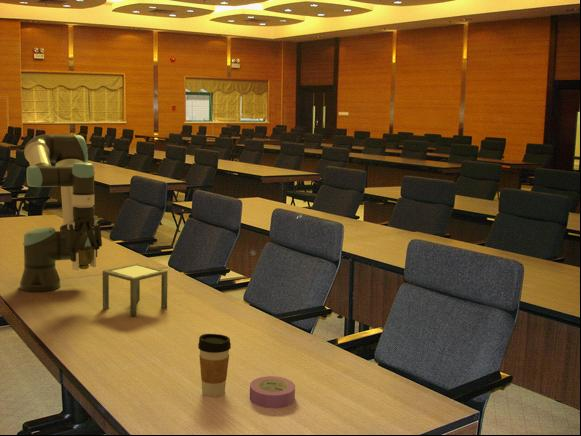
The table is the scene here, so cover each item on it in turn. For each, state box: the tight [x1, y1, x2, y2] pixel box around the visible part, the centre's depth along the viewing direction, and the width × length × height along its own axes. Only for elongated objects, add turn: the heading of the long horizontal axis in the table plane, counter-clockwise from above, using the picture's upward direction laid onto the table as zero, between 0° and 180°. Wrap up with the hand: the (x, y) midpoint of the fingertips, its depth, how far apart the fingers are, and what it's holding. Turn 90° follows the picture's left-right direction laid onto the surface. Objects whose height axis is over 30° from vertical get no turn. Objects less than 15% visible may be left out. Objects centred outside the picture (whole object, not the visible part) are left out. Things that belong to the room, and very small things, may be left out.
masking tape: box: [249, 375, 296, 409], centre depth 175 cm, size 12×12×4 cm
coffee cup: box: [197, 333, 232, 398], centre depth 177 cm, size 8×8×15 cm
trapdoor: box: [111, 265, 158, 277], centre depth 245 cm, size 12×12×1 cm
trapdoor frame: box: [102, 263, 168, 319], centre depth 246 cm, size 16×16×14 cm
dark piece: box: [77, 246, 94, 270], centre depth 247 cm, size 8×7×8 cm
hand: (84, 268), depth 248 cm, fingers closed on dark piece, 7 cm apart
